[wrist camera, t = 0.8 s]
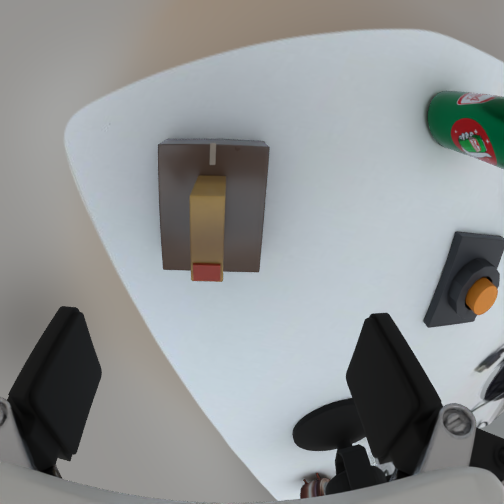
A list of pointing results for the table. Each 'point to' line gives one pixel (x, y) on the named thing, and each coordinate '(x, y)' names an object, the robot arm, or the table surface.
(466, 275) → the block
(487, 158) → the soda can
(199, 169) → the plate
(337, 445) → the microphone
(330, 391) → the table surface
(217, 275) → the lock knob
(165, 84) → the table surface
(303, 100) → the table surface
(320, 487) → the alarm clock
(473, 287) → the bell button
